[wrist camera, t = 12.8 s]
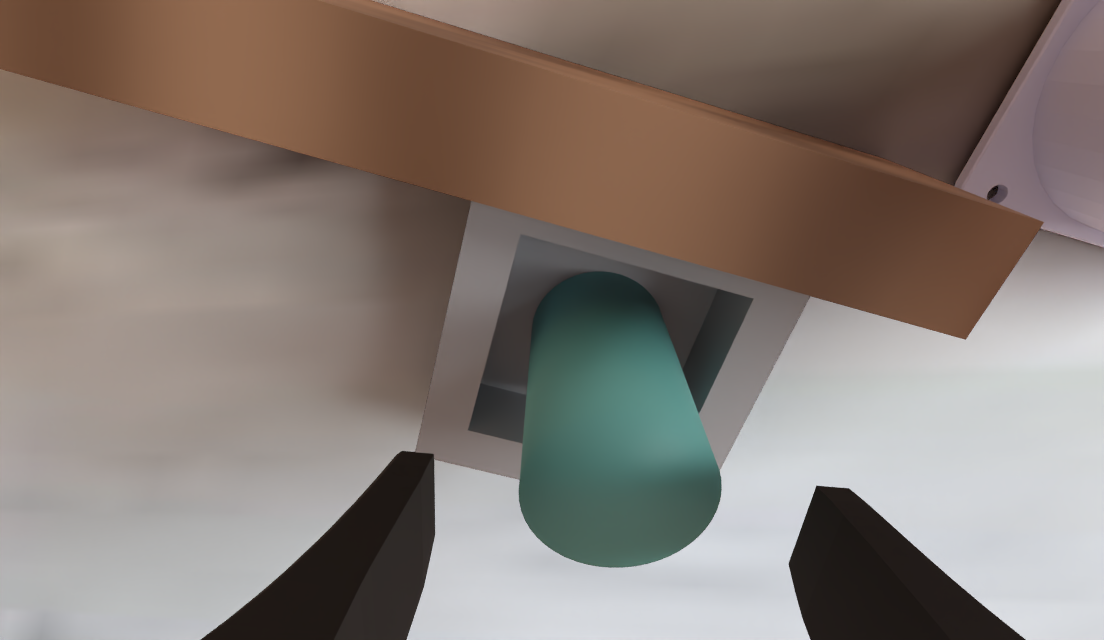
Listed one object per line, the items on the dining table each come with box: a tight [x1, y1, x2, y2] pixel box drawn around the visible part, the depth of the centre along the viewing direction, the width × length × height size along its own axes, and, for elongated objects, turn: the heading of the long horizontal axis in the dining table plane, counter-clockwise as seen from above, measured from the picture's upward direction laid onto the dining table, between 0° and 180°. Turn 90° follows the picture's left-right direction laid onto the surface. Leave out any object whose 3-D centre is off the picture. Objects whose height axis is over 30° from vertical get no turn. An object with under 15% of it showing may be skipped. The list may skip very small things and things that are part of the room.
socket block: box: [415, 201, 810, 480], centre depth 17 cm, size 9×9×4 cm
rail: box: [0, 0, 1044, 340], centre depth 13 cm, size 22×2×6 cm, turn 74°
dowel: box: [519, 272, 722, 567], centre depth 15 cm, size 4×4×7 cm
